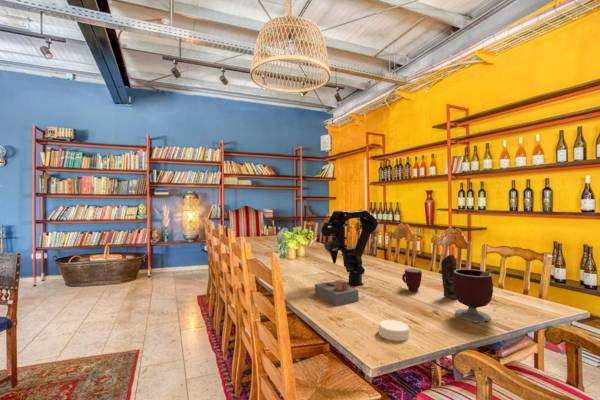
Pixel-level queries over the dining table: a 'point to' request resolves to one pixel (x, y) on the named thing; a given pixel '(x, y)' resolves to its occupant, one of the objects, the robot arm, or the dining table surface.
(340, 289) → the peg
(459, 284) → the mate gourd
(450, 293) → the statue
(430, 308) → the dining table surface
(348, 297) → the socket board
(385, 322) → the coaster
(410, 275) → the mug
